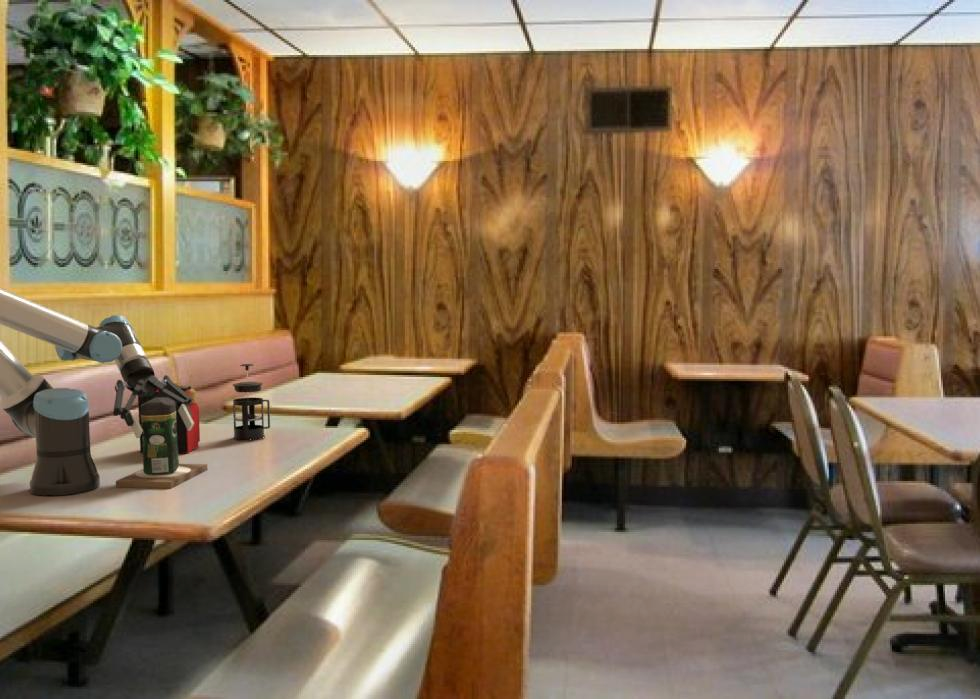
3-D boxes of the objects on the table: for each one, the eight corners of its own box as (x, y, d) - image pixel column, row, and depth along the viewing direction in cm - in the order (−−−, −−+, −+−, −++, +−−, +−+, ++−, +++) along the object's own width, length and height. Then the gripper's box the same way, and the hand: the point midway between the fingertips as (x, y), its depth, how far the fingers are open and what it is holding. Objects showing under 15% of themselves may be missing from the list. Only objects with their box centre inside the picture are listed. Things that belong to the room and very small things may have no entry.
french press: (227, 440, 277) (225, 365, 275) (235, 435, 286) (233, 362, 284) (266, 440, 277) (264, 365, 275) (273, 434, 286) (271, 362, 284)
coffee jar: (149, 468, 231) (146, 395, 229) (181, 467, 232) (178, 394, 230) (139, 476, 221) (136, 401, 220) (173, 475, 222) (170, 400, 221)
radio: (203, 447, 267) (201, 379, 265) (188, 454, 257) (186, 383, 255) (152, 446, 269) (149, 379, 267) (135, 453, 259) (132, 383, 257)
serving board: (171, 488, 216) (171, 481, 216) (115, 487, 218) (115, 480, 218) (207, 469, 236) (207, 463, 236) (156, 468, 238) (156, 462, 238)
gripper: (174, 371, 244) (206, 433, 236) (81, 380, 226) (112, 447, 217) (184, 353, 240) (216, 414, 232) (90, 360, 222) (121, 428, 213)
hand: (166, 430), depth 225 cm, fingers open, 13 cm apart
